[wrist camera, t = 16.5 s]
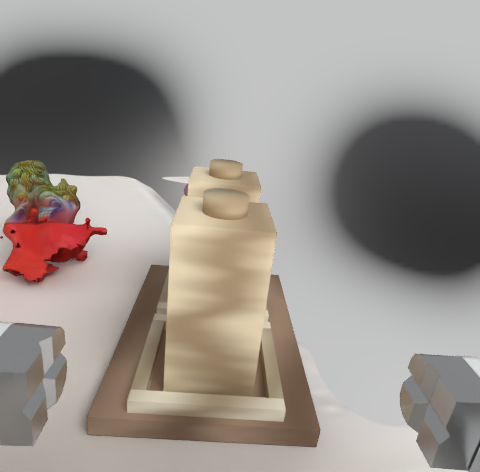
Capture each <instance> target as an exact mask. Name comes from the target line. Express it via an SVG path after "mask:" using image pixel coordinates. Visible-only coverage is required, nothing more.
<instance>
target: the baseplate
mask: <svg viewBox="0 0 480 472" xmlns="http://www.w3.org/2000/svg"><path fill="white" fill-rule="evenodd" d="M242 165H243V164H242V163H240V162H237V161H232V160H223V159H214V160H211V161H210V168H207V167H197V166H194V168H193V171H192V173H191V175H190V178H189V181H188V196H192V197H202V198H203V194H204V191H205V190H207V189H212V188H226V189H233V190H238V191H242V192H244V193H247V194H248V195H249V202H255V203H259V200H260V192H261V186H260V182H259V180H258V176H257V174H256V172H247V171H242ZM168 281H169V266H160V265H151V267H150V269H149V272H148V274H147V276H146V279H145V281H144V284H143V286H142V288H141V291H140V293H139V295H138V298H137V300H136V302H135V305H134V307H133V309H132V312H131V314H130V316H129V319H128V321H127V324H126V326H125V328H124V331H123V333H122V335H121V338H120V340H119V342H118V345H117V347H116V349H115V352H114V354H113V357H112V359H111V361H110V364H109V366H108V368H107V371H106V373H105V375H104V378H103V380H102V382H101V385H100V387H99V390H98V392H97V394H96V397H95V399H94V401H93V404H92V406H91V408H90V411H89V413H88V415H87V430H88V435H103V436H122V437H140V438H159V439H177V440H196V441H215V442H233V443H252V444H270V445H289V446H308V447H316V446H317V442H318V438H319V434H320V427H319V423H318V419H317V416H316V412H315V408H314V405H313V401H312V397H311V394H310V390H309V386H308V382H307V379H306V375H305V371H304V368H303V364H302V360H301V357H300V353H299V349H298V346H297V342H296V338H295V335H294V331H293V327H292V323H291V320H290V316H289V312H288V309H287V305H286V301H285V298H284V294H283V290H282V287H281V283H280V279H279V276H278V275H271V276H270V283H269V290H268V296H267V303H266V310H265V317H264V323H263V330H262V337H261V343H260V350H259V357H258V363H257V370H256V377H255V384H254V390H253V397H246V396H230V395H214V394H198V393H182V392H165V391H163V387H164V366H165V345H166V323H167V302H168Z"/></svg>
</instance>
